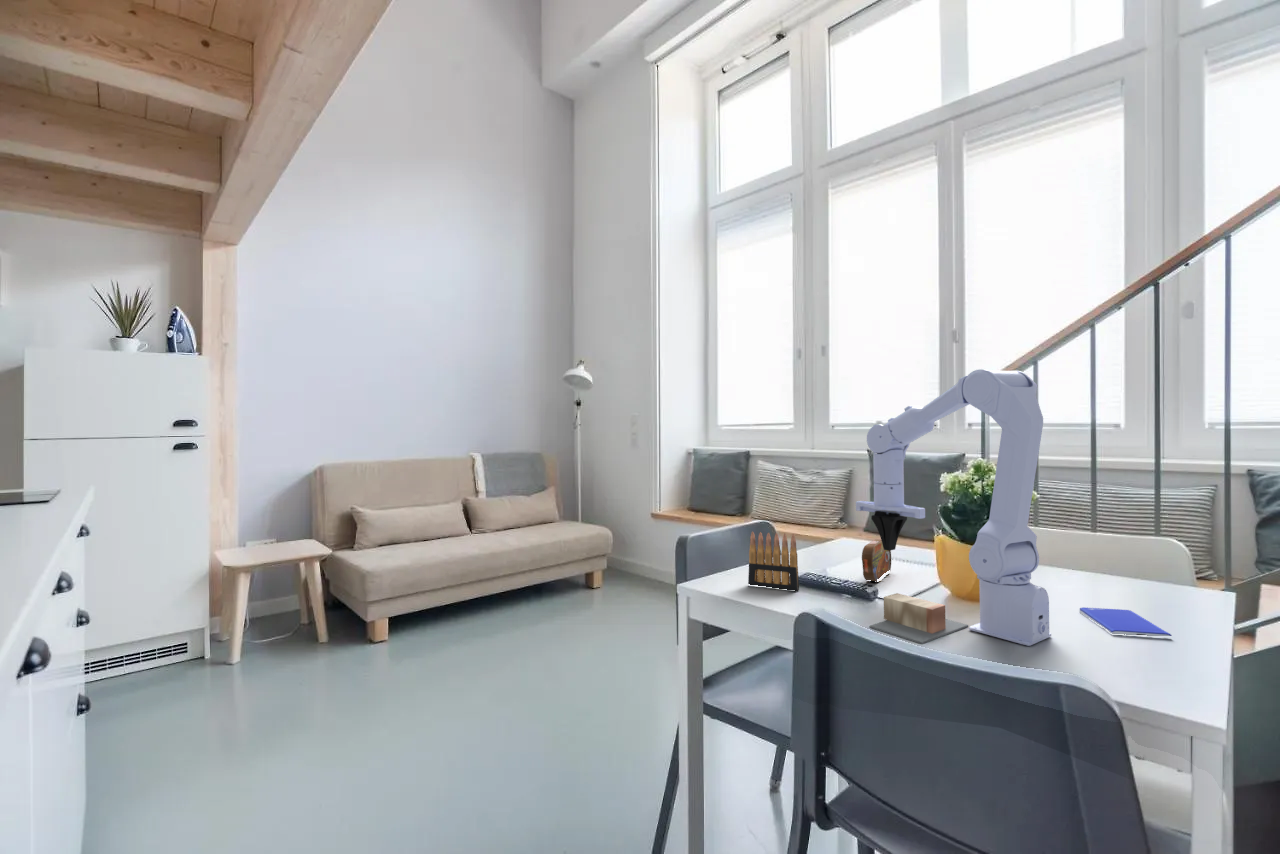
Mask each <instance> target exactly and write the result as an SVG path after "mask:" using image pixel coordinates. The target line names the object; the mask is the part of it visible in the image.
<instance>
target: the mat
mask: <svg viewBox="0 0 1280 854" xmlns="http://www.w3.org/2000/svg"><path fill="white" fill-rule="evenodd" d="M945 622H946V629H944V630H941V631H938V632H935V633H933V634H932V633H929V632H925V631H922V630H919V629H915V628H912V627H908V626H905V625H902V624H898V623H895V622H892V621H888V620H883V621H880V622H876V623H873V624H871V625H869V629H872V630H873V629H874V630H876V631H880V632H883V633H886V634H890V635H891V636H892V635H893V636H896V637H899V638H902V639H905V640H908V641H911V642H913V643H918V644H921V645H923V644H925V643H928V642H931V641H933V640H936V639H938V638H941V637H945V636H946V635H949V634H952V633H955V632H958V631H960V630H963V629H967V628H969V624H967V623H962V622H958V621H955V620H951V619H949V618H945Z"/></svg>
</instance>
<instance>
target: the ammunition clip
mask: <svg viewBox="0 0 1280 854" xmlns="http://www.w3.org/2000/svg"><path fill="white" fill-rule="evenodd" d="M749 539H750V540H749V551H748V557H749V558H748V559H749V560H748V579H747V580H748V583H747V585H748V584H750V585H758V586H766V587H772V588H779V589H787V590H795V591H797V592H799V590H800V583H799V578H800V577H799V566H798V551H797V540H796V535H795V534H794V533H793V534H792V535H791V539H790V549H789V546H788V545H789V541H788V537H787V534H786V533H784V534H783V536H782V541H781V548H780V539H779V534H778V533H777V532H775V535H774V538H773V547H772V537H771V534H770V532H767V534H766V537H765V545H764V536H763V533H762V532H761V531H760V532H759V533H758V538H757V542H756V535H755V533H754V531H751V534H750V537H749ZM756 544H757V545H756ZM764 546H765V547H764ZM789 551H790V552H789ZM795 591H794V592H795Z"/></svg>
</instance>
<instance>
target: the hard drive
mask: <svg viewBox="0 0 1280 854" xmlns="http://www.w3.org/2000/svg"><path fill="white" fill-rule="evenodd" d="M1078 612H1079V613H1080V614H1081V613H1082V614H1083V616H1084V615H1085V616H1086V618H1087V617H1088V618H1090V619H1091V620H1093V621H1094V622H1096V623H1097V624H1099V625H1101V626H1102V627H1104V628H1105V629H1107V630H1108V631H1109V632H1110V633H1112V634H1124V635H1125V634H1126V635H1147V636H1172V634H1171V633H1169V632H1168V631H1165V630H1164V629H1162V628H1160V627H1159V626H1157V625H1156V624H1154V623H1152V622H1151V621H1149V620H1148V619H1145V618H1144V617H1143V616H1141V615H1139V614H1137V613H1136V612H1134V611H1132V610H1129V609H1119V608H1117V609H1116V608H1101V607H1100V608H1099V607H1080V608H1079V610H1078ZM1082 614H1081V615H1082ZM1085 616H1084V617H1085ZM1088 618H1087V619H1088ZM1091 620H1090V621H1091ZM1094 622H1093V623H1094Z"/></svg>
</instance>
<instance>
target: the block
mask: <svg viewBox="0 0 1280 854" xmlns="http://www.w3.org/2000/svg"><path fill="white" fill-rule="evenodd" d="M883 619H884V621H886V620H888V621H892V622H895V623H898V624H902V625H905V626H908V627H912V628H915V629H919V630H922V631H925V632H929V633H932V634H933V633H935V632H938V631H941V630H944V629H946V622H945V619H946V605H945V604H942V603H937V602H935V601H930V600H925V599H921V598H918V597H914V596H910V595H907V594H903V593H902V594H901V593H898V592H896V593H893V594H890V595H885V596H883Z"/></svg>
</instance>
